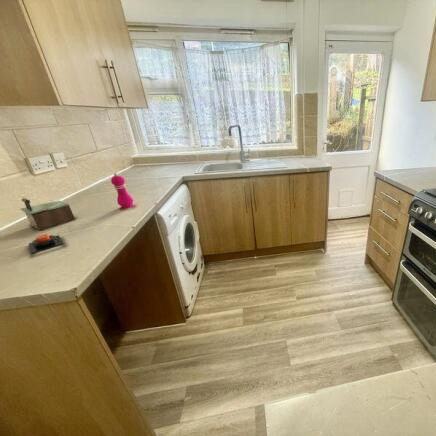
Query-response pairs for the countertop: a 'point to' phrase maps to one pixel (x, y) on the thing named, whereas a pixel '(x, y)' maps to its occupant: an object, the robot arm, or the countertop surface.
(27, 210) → the frame lid
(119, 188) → the pepper mill
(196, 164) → the countertop surface
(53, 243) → the lock base
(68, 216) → the brown open box
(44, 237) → the lock button
